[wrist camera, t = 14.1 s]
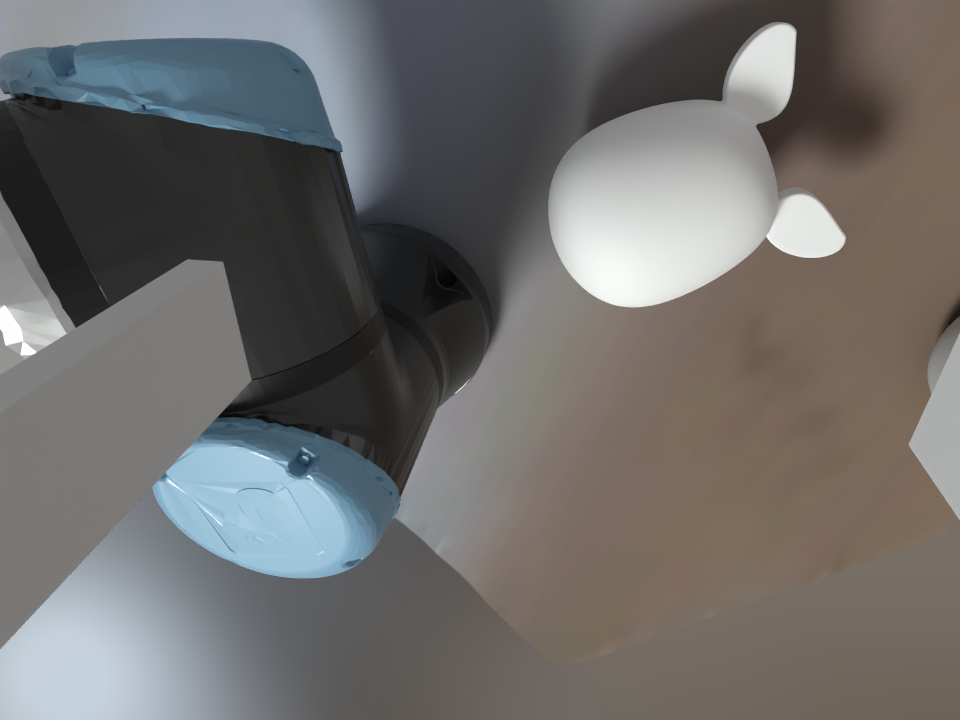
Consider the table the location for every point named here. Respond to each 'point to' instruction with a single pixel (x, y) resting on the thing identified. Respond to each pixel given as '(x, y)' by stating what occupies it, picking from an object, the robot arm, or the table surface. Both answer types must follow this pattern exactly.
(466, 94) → the table surface
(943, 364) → the teacup
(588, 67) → the table surface
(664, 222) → the piggy bank
